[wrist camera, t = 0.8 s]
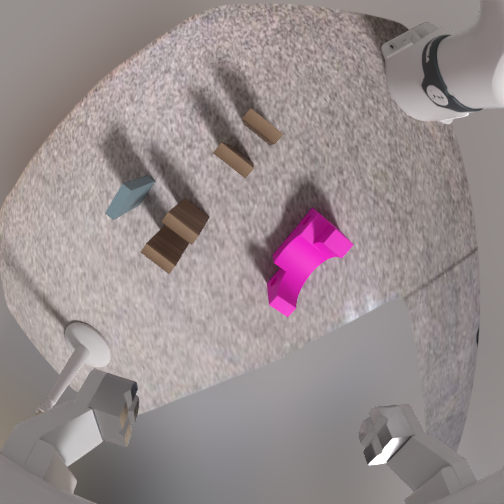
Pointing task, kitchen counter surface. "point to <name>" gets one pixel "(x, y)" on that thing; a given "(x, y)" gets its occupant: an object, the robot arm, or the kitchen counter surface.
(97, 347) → the candlestick
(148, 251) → the domino
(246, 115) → the domino
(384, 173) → the kitchen counter surface
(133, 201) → the domino
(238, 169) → the domino
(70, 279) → the kitchen counter surface
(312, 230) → the toy block
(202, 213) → the domino
